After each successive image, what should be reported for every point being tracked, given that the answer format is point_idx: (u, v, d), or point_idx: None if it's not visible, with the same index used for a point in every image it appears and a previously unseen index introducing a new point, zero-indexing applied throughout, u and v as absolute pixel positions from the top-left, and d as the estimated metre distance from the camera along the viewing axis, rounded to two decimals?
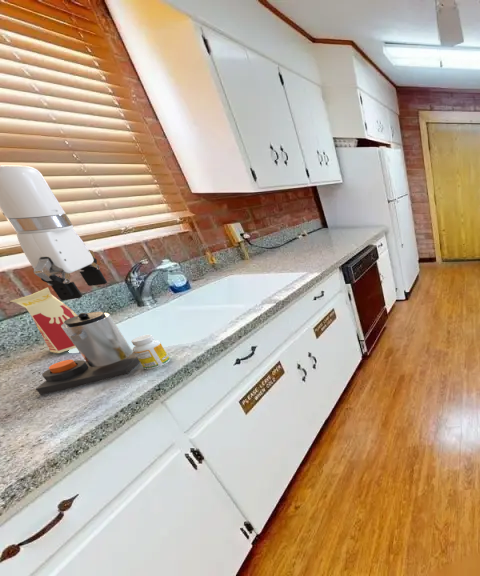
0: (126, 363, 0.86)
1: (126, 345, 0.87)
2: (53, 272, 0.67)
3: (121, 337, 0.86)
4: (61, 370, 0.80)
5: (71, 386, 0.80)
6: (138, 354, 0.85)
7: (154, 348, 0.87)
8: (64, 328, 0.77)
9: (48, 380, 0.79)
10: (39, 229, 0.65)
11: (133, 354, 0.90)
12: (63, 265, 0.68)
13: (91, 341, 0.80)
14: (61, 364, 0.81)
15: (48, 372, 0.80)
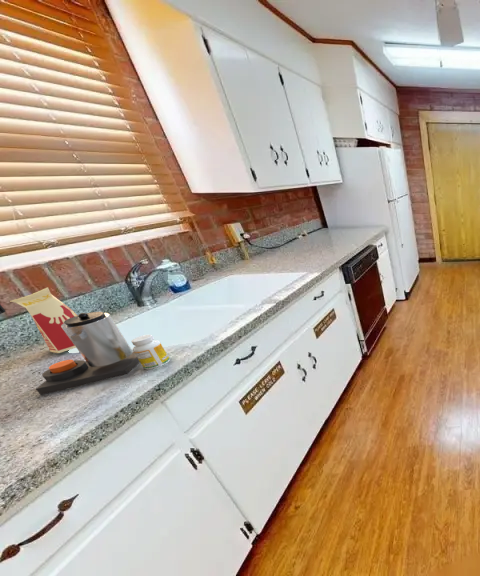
0: (126, 363, 0.86)
1: (126, 345, 0.87)
2: None
3: (121, 337, 0.86)
4: (61, 370, 0.80)
5: (71, 386, 0.80)
6: (138, 354, 0.85)
7: (154, 348, 0.87)
8: (64, 328, 0.77)
9: (48, 380, 0.79)
10: None
11: (133, 354, 0.90)
12: None
13: (91, 341, 0.80)
14: (61, 364, 0.81)
15: (48, 372, 0.80)
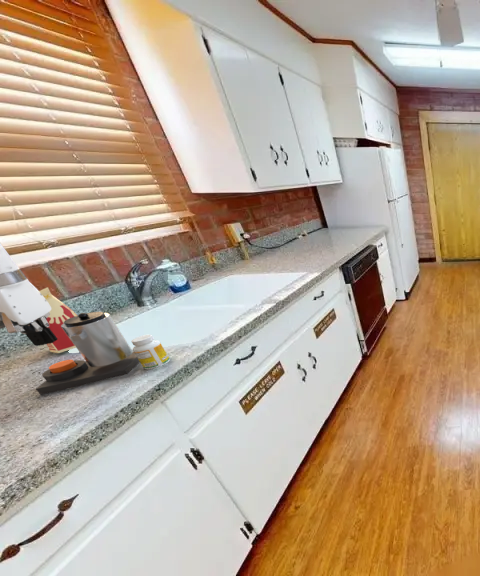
0: (126, 363, 0.86)
1: (126, 345, 0.87)
2: (20, 325, 0.74)
3: (121, 337, 0.86)
4: (61, 370, 0.80)
5: (71, 386, 0.80)
6: (138, 354, 0.85)
7: (154, 348, 0.87)
8: (64, 328, 0.77)
9: (48, 380, 0.79)
10: None
11: (133, 354, 0.90)
12: (18, 318, 0.72)
13: (91, 341, 0.80)
14: (61, 364, 0.81)
15: (48, 372, 0.80)
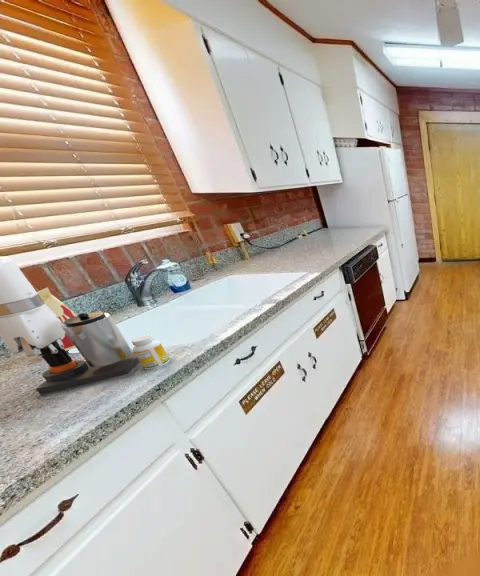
0: (126, 363, 0.86)
1: (126, 345, 0.87)
2: (37, 348, 0.77)
3: (121, 337, 0.86)
4: (61, 370, 0.80)
5: (71, 386, 0.80)
6: (138, 354, 0.85)
7: (154, 348, 0.87)
8: (64, 328, 0.77)
9: (48, 380, 0.79)
10: (13, 313, 0.72)
11: (133, 354, 0.90)
12: (36, 342, 0.74)
13: (91, 341, 0.80)
14: None
15: (48, 372, 0.80)
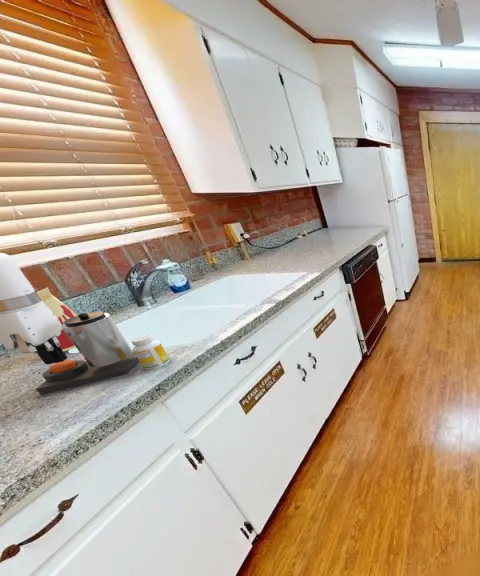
0: (126, 363, 0.86)
1: (126, 345, 0.87)
2: (33, 345, 0.76)
3: (121, 337, 0.86)
4: (61, 370, 0.80)
5: (71, 386, 0.80)
6: (138, 354, 0.85)
7: (154, 348, 0.87)
8: (64, 328, 0.77)
9: (48, 380, 0.79)
10: (9, 309, 0.71)
11: (133, 354, 0.90)
12: (32, 339, 0.74)
13: (91, 341, 0.80)
14: (61, 364, 0.81)
15: (48, 372, 0.80)
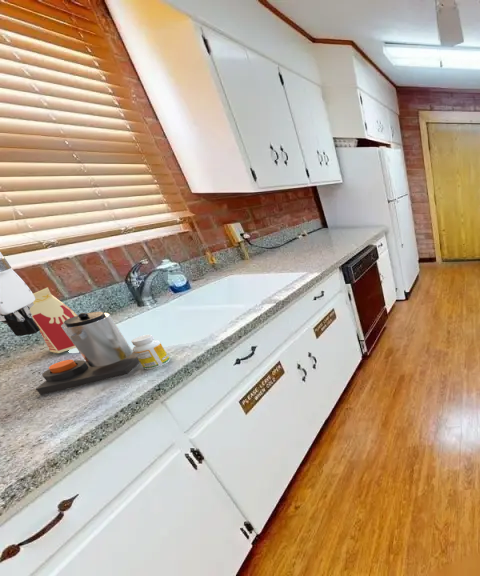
0: (126, 363, 0.86)
1: (126, 345, 0.87)
2: (2, 314, 0.73)
3: (121, 337, 0.86)
4: (61, 370, 0.80)
5: (71, 386, 0.80)
6: (138, 354, 0.85)
7: (154, 348, 0.87)
8: (64, 328, 0.77)
9: (48, 380, 0.79)
10: None
11: (133, 354, 0.90)
12: None
13: (91, 341, 0.80)
14: (61, 364, 0.81)
15: (48, 372, 0.80)
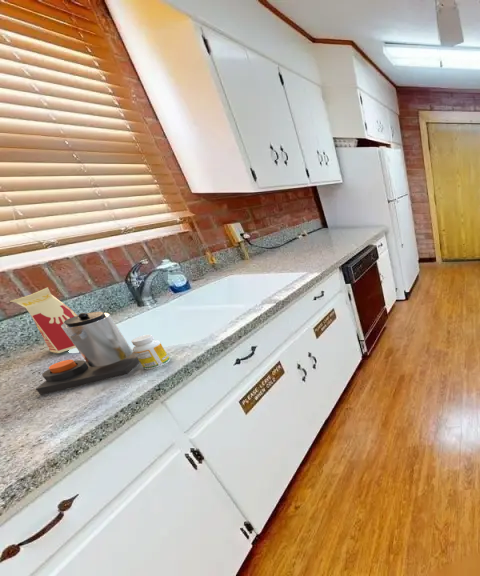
0: (126, 363, 0.86)
1: (126, 345, 0.87)
2: None
3: (121, 337, 0.86)
4: (61, 370, 0.80)
5: (71, 386, 0.80)
6: (138, 354, 0.85)
7: (154, 348, 0.87)
8: (64, 328, 0.77)
9: (48, 380, 0.79)
10: None
11: (133, 354, 0.90)
12: None
13: (91, 341, 0.80)
14: (61, 364, 0.81)
15: (48, 372, 0.80)
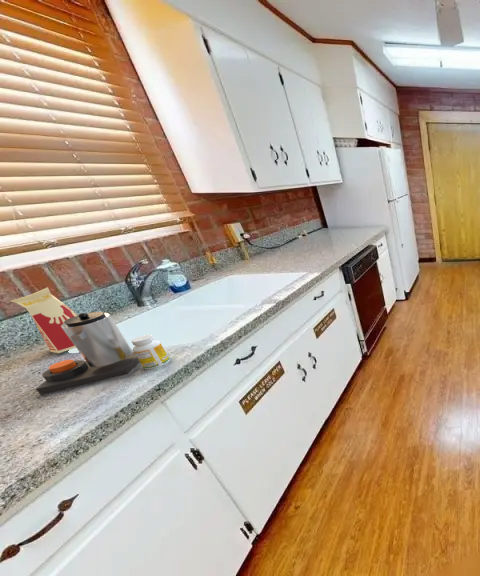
0: (126, 363, 0.86)
1: (126, 345, 0.87)
2: None
3: (121, 337, 0.86)
4: (61, 370, 0.80)
5: (71, 386, 0.80)
6: (138, 354, 0.85)
7: (154, 348, 0.87)
8: (64, 328, 0.77)
9: (48, 380, 0.79)
10: None
11: (133, 354, 0.90)
12: None
13: (91, 341, 0.80)
14: (61, 364, 0.81)
15: (48, 372, 0.80)
